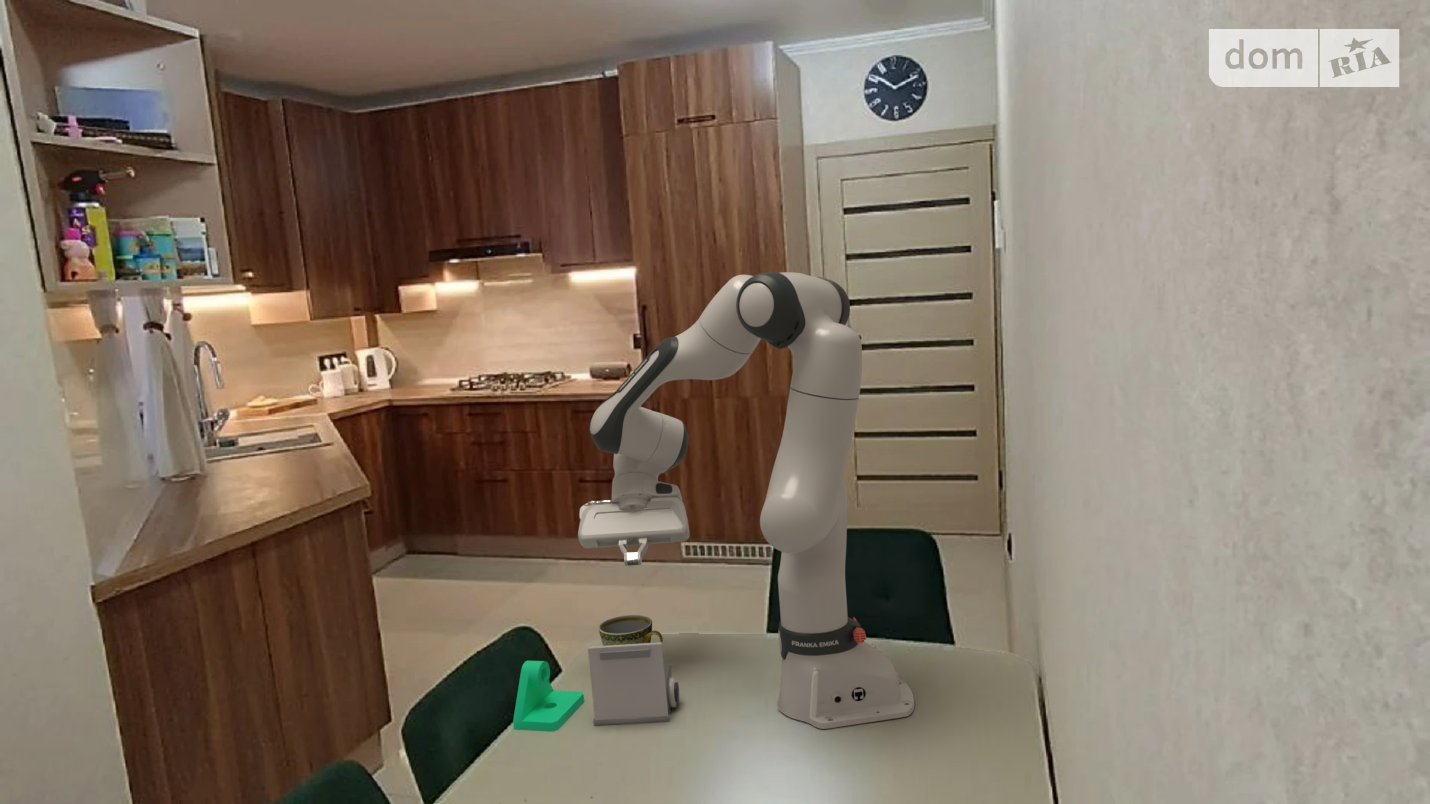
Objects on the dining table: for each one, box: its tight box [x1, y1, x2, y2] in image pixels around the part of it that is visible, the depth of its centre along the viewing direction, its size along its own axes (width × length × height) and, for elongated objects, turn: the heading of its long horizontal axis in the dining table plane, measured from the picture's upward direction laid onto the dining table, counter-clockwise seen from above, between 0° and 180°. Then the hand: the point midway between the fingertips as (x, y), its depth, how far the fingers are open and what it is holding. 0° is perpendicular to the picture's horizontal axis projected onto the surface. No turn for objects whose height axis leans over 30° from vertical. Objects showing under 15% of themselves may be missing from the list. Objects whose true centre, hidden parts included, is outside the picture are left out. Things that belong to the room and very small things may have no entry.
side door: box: [587, 641, 671, 727], centre depth 150 cm, size 12×2×13 cm, turn 88°
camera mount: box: [512, 660, 585, 732], centre depth 156 cm, size 12×8×10 cm, turn 164°
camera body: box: [664, 662, 680, 715], centre depth 155 cm, size 13×8×7 cm, turn 88°
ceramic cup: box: [598, 614, 664, 646], centre depth 171 cm, size 13×10×10 cm
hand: (632, 563), depth 164 cm, fingers closed
